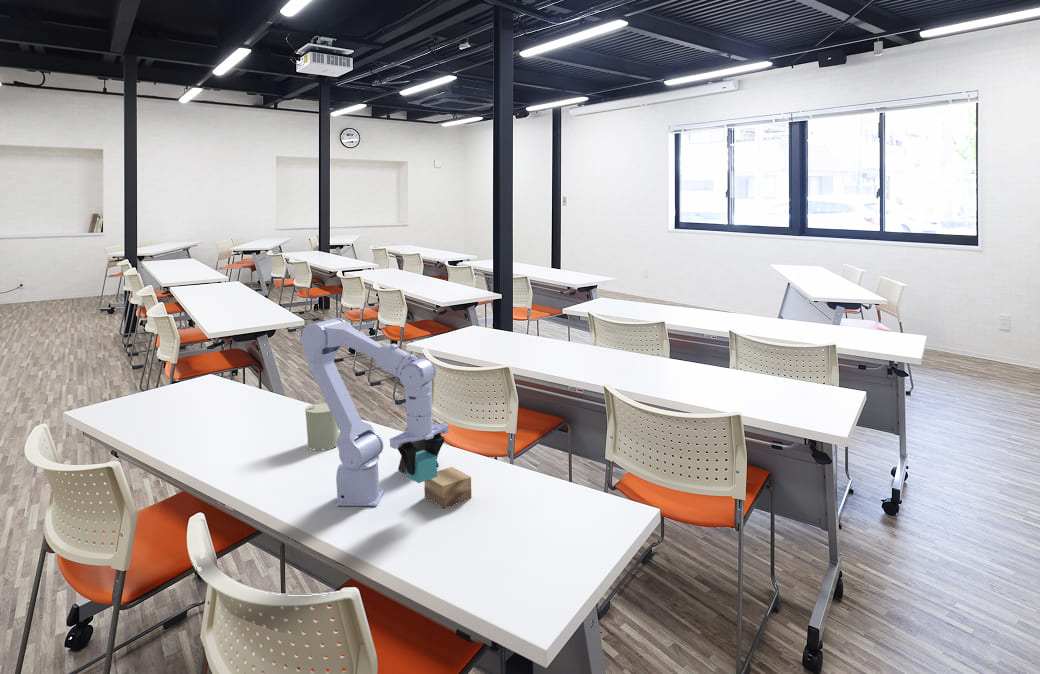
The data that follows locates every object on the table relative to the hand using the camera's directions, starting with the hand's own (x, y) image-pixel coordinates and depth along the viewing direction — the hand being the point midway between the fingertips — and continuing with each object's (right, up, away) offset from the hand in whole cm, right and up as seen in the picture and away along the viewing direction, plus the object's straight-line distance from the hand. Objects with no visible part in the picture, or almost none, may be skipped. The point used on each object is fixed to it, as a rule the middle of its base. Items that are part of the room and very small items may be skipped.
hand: (421, 470), depth 141 cm
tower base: (+5, -9, +8) cm, 13 cm away
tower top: (+5, -6, +8) cm, 11 cm away
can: (-36, -2, +42) cm, 55 cm away
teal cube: (0, -2, 0) cm, 2 cm away
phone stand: (-5, -5, +25) cm, 26 cm away
